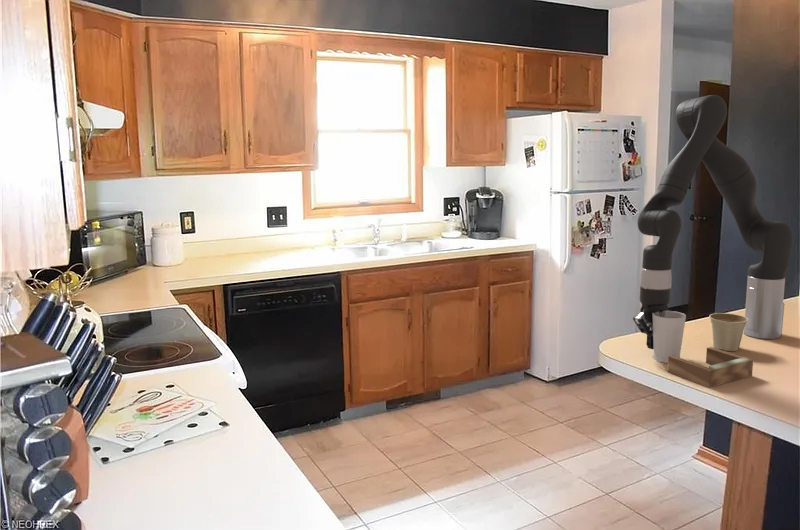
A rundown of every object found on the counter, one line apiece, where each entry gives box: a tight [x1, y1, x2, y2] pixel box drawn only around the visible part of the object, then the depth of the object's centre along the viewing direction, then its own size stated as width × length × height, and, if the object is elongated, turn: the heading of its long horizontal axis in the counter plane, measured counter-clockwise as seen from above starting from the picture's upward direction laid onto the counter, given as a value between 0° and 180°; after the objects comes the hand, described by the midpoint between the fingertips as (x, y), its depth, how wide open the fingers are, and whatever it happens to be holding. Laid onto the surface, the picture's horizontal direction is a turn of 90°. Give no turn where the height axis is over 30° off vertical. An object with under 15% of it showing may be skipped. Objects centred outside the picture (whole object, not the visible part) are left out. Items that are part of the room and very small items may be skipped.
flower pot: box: [708, 312, 748, 352], centre depth 167 cm, size 9×9×9 cm
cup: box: [652, 310, 687, 364], centre depth 159 cm, size 8×8×12 cm
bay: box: [667, 346, 754, 388], centre depth 148 cm, size 15×12×4 cm
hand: (652, 348), depth 164 cm, fingers closed
